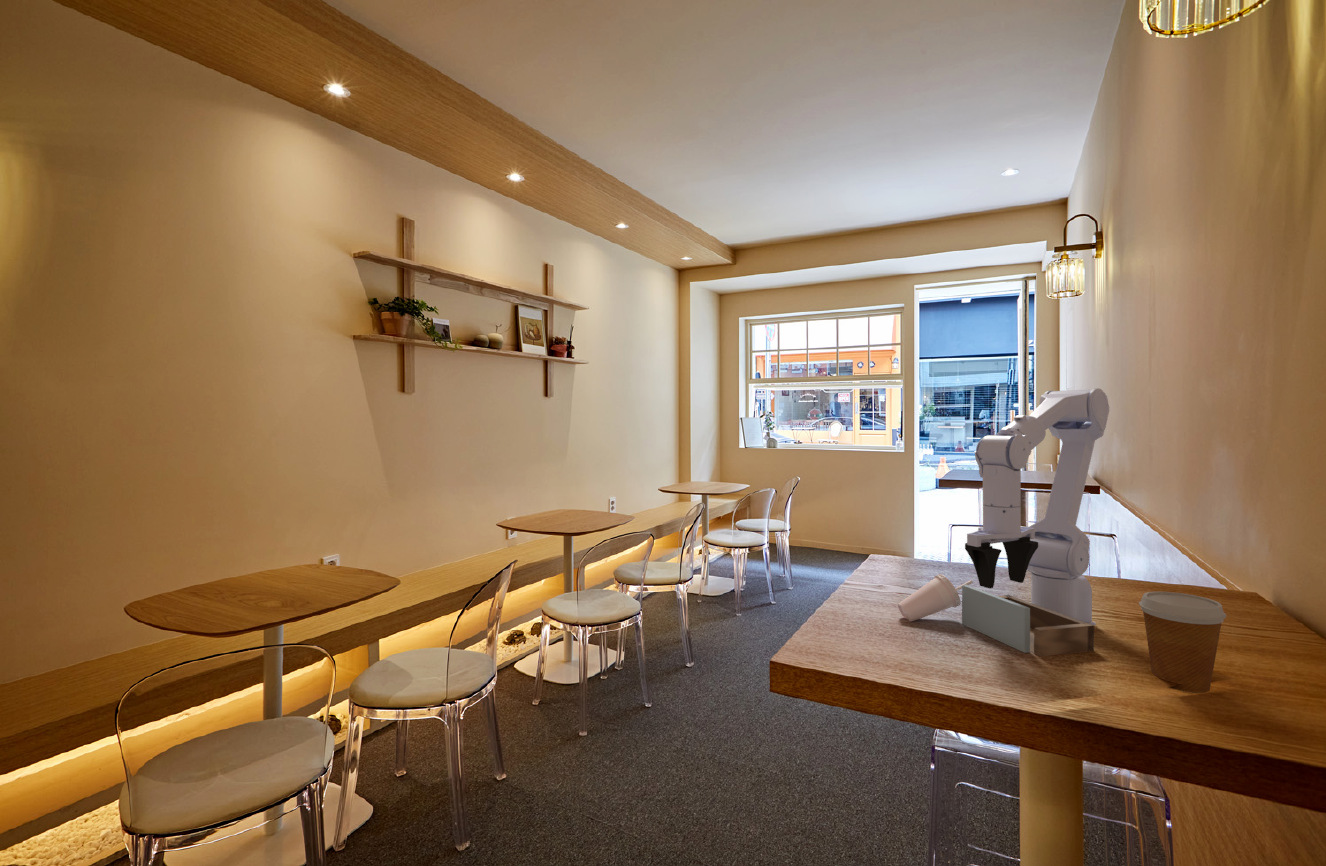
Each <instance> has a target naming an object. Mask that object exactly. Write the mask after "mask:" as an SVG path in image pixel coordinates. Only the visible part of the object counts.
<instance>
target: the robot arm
mask: <svg viewBox="0 0 1326 866" xmlns="http://www.w3.org/2000/svg"><path fill="white" fill-rule="evenodd" d="M1109 413H1110V404H1109V399H1108V396H1107V394H1106V393H1105V392H1104V391H1103V390H1102V389H1101V388H1093V389H1073V390H1071V389H1070V390H1069V389H1068V390H1047V391H1045V392H1044V393H1043V394H1041V395H1040V398H1039V405H1038V406H1037V407H1036V408H1035V409H1034V410H1033V411H1032V413H1030V415H1028V414H1027V415H1026V414H1017V415H1015V416H1014V417H1013V420H1012V421H1011V422H1010V423H1008V424H1007V425H1006V426H1004V427H1002V428H1001V429H999V431H998V432H997V433H995V434H994V435H993V434H991V435H989V434H988V435H985V436H984V437H982V438H981V439H980V440H979V441H978V442H977V445H976V449H975V451H974V456H975V457H974V458H975V461H976V463H977V465H978V473H979V474H978V475H979V476H980V478H981V479H982V527H978V528H977V531H974V532H970V533H967V534H966V542H965V543H964V549H965V551H966V552H967V554H968V556H969V558H970V559H971V562H972V563H973V566H974V568H975V571H976V576H977V580H978V584H979V586H980V587H984V588H986V589H994V587H995V586H994V585H995V580H996V579H995V578H996V568H997V563H998V560H999V558H1000V554H1001V553H1002V549H1000V548H995V547H993V545H992V544H999V543H1000V544H1001V543H1002V545H1003V548H1004V551H1005V554H1006V560H1007V570H1008V577H1009V581H1012V582H1016V583H1019V584H1023V583H1024V580H1025V578H1026V574H1027V572H1028V573H1029V572H1030V573H1031V574H1030V589H1031V590H1030V595H1031V596H1030V601H1031V602H1030V603H1032V604H1035V605H1038V606H1041V607H1044V608H1046V609H1049V610H1052V611H1055V612H1058V613H1060V614H1063V615H1066V616H1069V617H1072V618H1074V619H1077V620H1080V621H1083V622H1086V623H1088V624H1091V625H1094V626H1096V625H1097V623H1096V621H1093V589H1092V585H1091V583H1090V581H1089V580H1088V579H1087V578H1086V577H1085V576H1084V573H1086V572H1087V570H1088V568H1089V565H1090V545H1091V544H1090V543H1091V541H1090V539H1089V537H1088V536H1087V535H1086V533H1084V532H1083V530H1081V529H1080V528H1079V527H1078V526H1077V522H1078V518H1079V512H1080V507H1081V504H1082V499H1083V496H1084V492H1085V491H1084V490H1085V485H1086V481H1087V477H1088V474H1089V469H1090V464H1091V462H1092V461H1091V460H1092V457H1093V451H1094V447H1095V443H1096V441H1097V440H1098V439H1100V438H1102V437H1103V436H1104V433H1105V430H1106V427H1107V422H1108V418H1109ZM1047 429H1048V430H1049V432H1050V433H1051V436H1053V437H1055V438H1056V439H1059V440H1060V441H1061V442H1062V443H1061V449H1060V453H1059V457H1058V460H1057V461H1058V462H1057V466H1056V469H1055V474H1054V478H1053V480H1052V481H1053V482H1052V485H1051V490H1050V495H1049V499H1048V503H1047V507H1046V512H1045V515H1044V518H1042V519H1041V520H1039V521H1037V522H1035V523H1033V524H1032V525H1029V526H1022V523H1021V519H1022V518H1021V517H1022V516H1021V513H1022V509H1021V508H1022V503H1021V502H1022V501H1021V500H1022V497H1021V492H1022V491H1021V487H1022V485H1021V481H1022V479H1021V477H1022V476H1021V472H1022V471H1021V470H1022V469H1024V468H1026V466H1027V463H1028V461H1029V457H1030V456H1031V455H1032V451H1033V449H1035V448H1036V447H1037V446H1039V445H1040V443H1042V442H1043V441H1044V440H1045V437H1046V436H1047V435H1046V434H1047V433H1046V430H1047Z"/></svg>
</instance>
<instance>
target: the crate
mask: <svg viewBox="0 0 1326 866" xmlns="http://www.w3.org/2000/svg"><path fill="white" fill-rule="evenodd" d="M998 596H999V597H1001V598H1004V599H1007V600H1010V601H1012V602H1015V603H1018V604H1020V605H1023V606H1026V607H1029V608H1030V652H1029V653H1032V654H1033V655H1036V656H1038V657H1048V656H1055V655H1056V656H1057V655H1066V654H1067V655H1068V654H1075V653H1076V654H1077V653H1085V652H1086V653H1087V652H1094V651H1095V648H1094V647H1095V644H1094V643H1095V642H1094V641H1095V625H1091V624H1088V623H1086V622H1083V621H1080V620H1077V619H1074V618H1072V617H1069V616H1066V615H1063V614H1060V613H1058V612H1055V611H1052V610H1049V609H1046V608H1044V607H1041V606H1038V605H1035V604H1032V603H1031V602H1029V601H1026V600H1023V599H1020V598H1018V597H1016V596H1012V595H1009V594H1008V595H1007V594H1006V595H998Z"/></svg>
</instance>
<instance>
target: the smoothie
mask: <svg viewBox="0 0 1326 866" xmlns="http://www.w3.org/2000/svg"><path fill="white" fill-rule="evenodd" d="M973 583H974V581H973V580H968V581H966V582H965V583H963V584H961V585H958V586H956V587H955V586H954V585H953V583H952V582H951V581H950V580H949V578H947V576H945V575H944V574H941V573H939V574H937V575H934V577H933V579H931V580H930V581H928V582H927V583H926V584H924V585H923V586H922V587H920V588H919V589H917V590H915V591H914V592H913V593H912V594H910V595H909V596H907V597H906V598H904V599H903V600H901V601H900V602H898V603H897V609H898V610H899V612H900V614H901V616H902V617H903V618H904V619H907V620H908V622H914V621H917V620H920V619H923V618H926V617H928V616H931V615H934V614H936V613H937V614H938V613H940V612H942V611H944V610H945V611H946V610H948V609H950V608H957V607H959V606H961V605H962V599H961V597H960V595H959V593H958V591H960V590H962V585H969V586H970V585H971V584H973Z"/></svg>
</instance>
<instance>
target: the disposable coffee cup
mask: <svg viewBox="0 0 1326 866" xmlns="http://www.w3.org/2000/svg"><path fill="white" fill-rule="evenodd" d="M1138 605H1139V607H1141V610H1142V612H1143V619H1144V620H1143V621H1144V626H1145V634H1146V640H1147V641H1146V642H1147V647H1148V649H1147V650H1148V654H1149V661H1150V668H1151V673H1152V675H1154V676H1156V677H1157V678H1159V679H1162V680H1163V681H1166V682H1170V683H1173V684H1178V685H1172V686H1171V685H1170V686H1168V688H1169V689H1172V690H1177V691H1182V692H1186V693H1195V694H1197V693H1198V694H1199V693H1200V694H1203V693H1208V692H1209V691H1210V690H1211V685H1212V678H1213V673H1214V668H1215V662H1216V657H1217V651H1218V644H1219V642H1220V641H1219V639H1220V634H1221V629H1222V628H1221V627H1222V624H1223V623H1224V621H1225V620H1224V619H1226V618H1227V614H1226V613H1225V612H1224V609H1223V605H1222V604H1221V602H1218V601H1217V600H1214V599H1211V598H1207V597H1204V596H1199V595H1194V594H1189V593H1182V592H1173V591H1147V592H1144V593H1143V594H1142V597H1141V600H1140V601H1138Z"/></svg>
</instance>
